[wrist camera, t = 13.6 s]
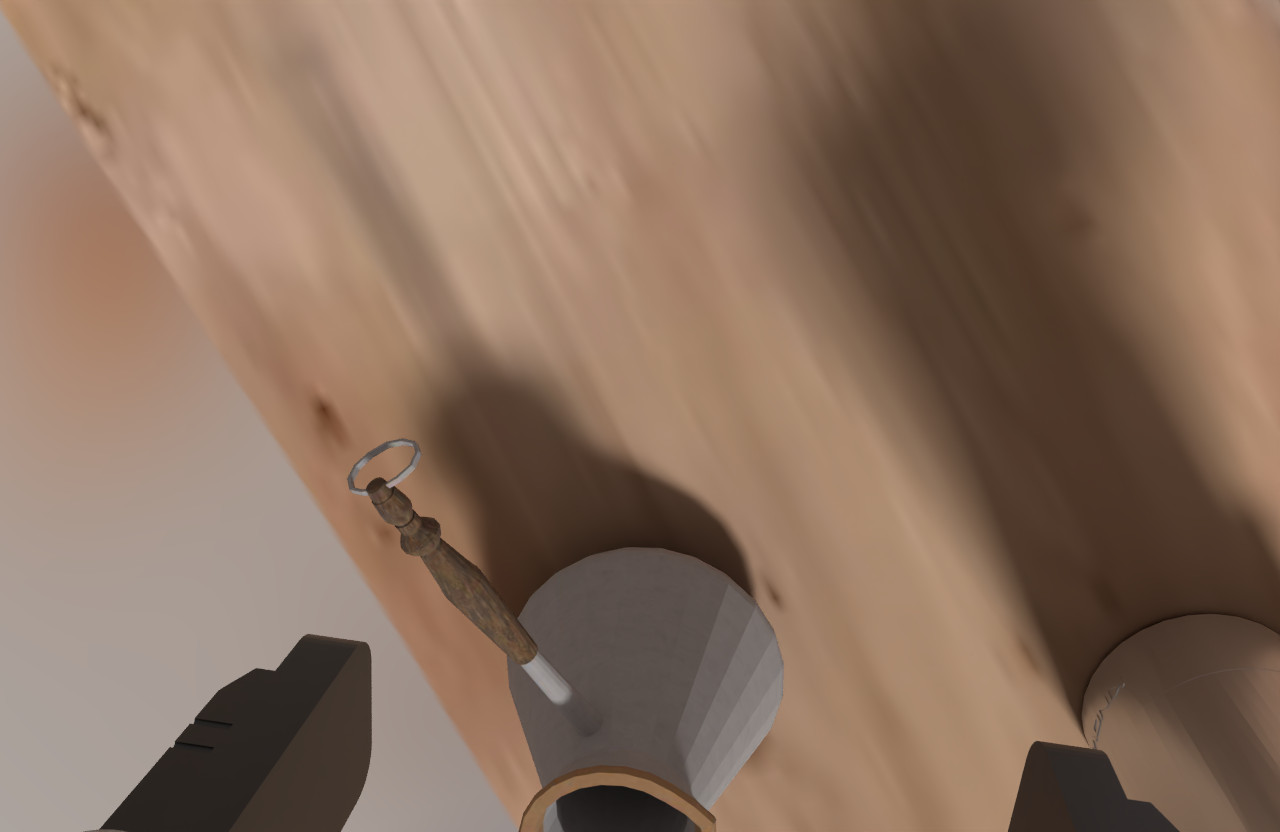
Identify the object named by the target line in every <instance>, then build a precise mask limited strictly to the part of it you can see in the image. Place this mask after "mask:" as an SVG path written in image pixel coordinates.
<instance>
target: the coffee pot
mask: <svg viewBox="0 0 1280 832" xmlns="http://www.w3.org/2000/svg"><path fill="white" fill-rule="evenodd" d="M402 445H407V446H412V447H414V449H415V454H414V456H413V458H412V461H411V463H410V465H409V466H408V467H407V468H405V469H404V470H403V471H402V472H401V473H400V474H398V475H397V476H396V477H394V478H393V479H391V480H389V481H388V482H387V481H385V480H384V479H383V478H380V477H379V478H376V479H374V480H372V481H371V482H370V483H369V484H368V486H367V488H366V489H358V488H355V486H354V482H353V481H354V479H355V477H356V476H357V474H358V472H359V470H360V469H361V468H362V467H363V466H364V465H365V464H366V463H367V462H368V461H369V460H371V459H372V458H373V457H375V456H376V455H378V454H380V453H381V452H383V451H385V450H386V449H388V448H391V447H397V446H402ZM421 455H422V454H421V452H420V449H419V446H418V444H417V443H416V442H415V441H412V440H407V439H398V440H393V441H388V442H385V443H383V444H382V445H380V446H378V447H377V448H375V449H373V450H371V451H370V452H368V453H367V454H366V455H365V456H364V457H363V458H362V459H360V460H359V461H358V462H357V463H356V464H355V465H354V466H353V468H352V470H351V472H350V474H349V476H348V478H347V480H348V485H349V490H350V491H351V492H352V493H354V494H358V495H363V496H367V495H369V496H370V498H371V499H372V503H373V505H374V506H375V508H376V509H377V511H378V512H379V514H380V516H381V517H382V518H383V519H384V520H385V521H386V522H387V523H389V524H393V525H395V527H396V528H397V529H398V530H399V531H400V532H401V541H400V542H401V548H402V549H403V550H404V552H405V553H406V554H409V555H413V556H420V557H421V558H422V560H423V561H424V563H425V564H426V566H427V568H428V569H429V571H430V572H431V574H432V575H433V577H434V578H435V580H436V581H437V583H438V584H439V586H440V588H441V590H442V592H443V593H444V595H445V596H446V598H447V599H448V600H449V601H450V602H451V603H452V604H453V605H455V606H456V607H457V608H458V609H459V610H460V611H461V612H462V613H463V614H464V615H465V616H466V617H467V618H468V619H469V620H471V621H472V622H473V623H474V624H475V625H476V626H477V627H478V628H479V629H480V630H481V631H482V632H483V633H484V634H485V635H486V636H488V637H489V638H490V639H491V640H492V641H493V642H494V643H495V644H496V645H497V646H498V647H499V648H500V649H501V650H502V651H504V652H505V653H506V654H507V663H508V675H509V688H510V691H511V694H512V697H513V700H514V703H515V706H516V709H517V712H518V715H519V718H520V721H521V724H522V728H523V731H524V734H525V737H526V740H527V743H528V746H529V749H530V752H531V755H532V758H533V761H534V764H535V767H536V770H537V773H538V776H539V779H540V782H541V785H542V788H543V789H541V790H540V791H539V792H538V793H537V794H536V795H535V796H534V798H533V799H532V801H531V802H530V804H529V805H528V807H527V808H526V810H525V811H524V813H523V817H522V821H521V825H520V829H519V832H716V819H715V817H714V816H713V815H712V814H711V813H710V812H709V809H710V808H711V807H712V806H713V804H714V803H715V802H716V800H717V799H718V798H719V796H720V795H721V794H722V793H723V791H724V790H725V789H726V787H727V786H728V785H729V783H730V782H731V781H732V779H733V778H734V777H735V776H736V774H737V773H738V772H739V770H740V769H741V768H742V766H743V765H744V764H745V763H746V761H747V760H748V759H749V757H750V756H751V755H752V753H753V752H754V751H755V749H756V748H757V747H758V745H759V744H760V743H761V741H762V740H763V739H764V737H765V736H766V735H767V733H768V732H769V731H770V729H771V728H772V725H773V722H774V719H775V717H776V714H777V711H778V708H779V705H780V702H781V700H782V696H783V672H784V663H783V660H782V656H781V653H780V649H779V646H778V642H777V639H776V635H775V632H774V630H773V628H772V626H771V625H770V623H769V622H768V620H767V618H766V617H765V615H764V614H763V612H762V611H761V609H760V607H759V606H758V604H757V603H756V601H755V600H754V599H753V598H752V597H751V596H750V595H748V594H747V593H746V592H745V591H744V590H743V589H742V588H741V587H740V586H739V585H737V584H736V583H735V582H734V581H733V580H732V579H731V578H730V577H729V576H727V575H726V574H725V573H723V572H722V571H720V570H718V569H716V568H714V567H712V566H710V565H709V564H707V563H705V562H703V561H701V560H699V559H697V558H696V557H693V556H689V555H686V554H682V553H678V552H674V551H670V550H667V549H663V548H642V547H625V548H620V549H616V550H611V551H606V552H602V553H597V554H593V555H590V556H588V557H586V558H584V559H582V560H580V561H578V562H576V563H574V564H572V565H570V566H568V567H566V568H564V569H562V570H560V571H558V572H556V573H555V574H554V575H553V576H552V577H551V578H550V579H549V580H548V581H546V582H545V583H544V584H543V585H542V586H541V587H540V588H539V589H538V590H537V591H536V592H534V593H533V594H532V595H531V597H530V598H529V600H528V601H527V603H526V605H525V607H524V608H523V610H522V612H521V613H520V615H519V617H518V618H516V617H515V615H514V614H513V613H512V611H511V610H510V609H509V607H508V606H507V605H506V603H505V602H504V601H503V599H502V598H501V597H500V595H499V594H498V593H497V591H496V590H495V589H494V587H493V586H492V585H491V583H490V582H489V581H488V580H487V578H486V577H485V576H484V574H483V573H482V572H481V570H480V569H479V568H478V567H477V566H475V565H474V564H473V563H471V562H470V561H468V560H467V559H466V558H465V557H463V556H462V555H461V554H460V553H458V552H457V551H456V550H455V549H454V548H452V547H451V546H450V545H449V544H447V543H446V542H445V541H444V540H442V539H441V538H440V536H441V529H440V524H439V523H438V522H437V521H436V520H435V519H434V518H430V517H419V515H418V514H417V513H416V512H415V511H414V510H413V509H412V503H411V501H410V500H409V498H408V497H407V496H406V495H405V494H403V493H402V492H401V491H400V490H398V489H397V488H396V487H395V485H396V484H398V483H400V482H401V481H402V480H404V479H405V478H406V477H407V476H408V475H409V474H410V473H411V472H412V471H414V470H415V468H416V466H417V464H418V462H419V459H420V457H421Z"/></svg>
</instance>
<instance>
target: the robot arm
mask: <svg viewBox="0 0 1280 832" xmlns="http://www.w3.org/2000/svg"><path fill="white" fill-rule="evenodd" d="M371 714H372V713H371V652H370V648H369V645H368V644H367V643H366V642H360V641H353V640H346V639H339V638H333V637H326V636H319V635H311V634H307V635H305V636H303V637H302V638H301V640H299V642H298V643H297V644H296V646H295V647H294V648H293V649H292V651H291V652H290V653H289V654H288V656H287V657H286V658H285V659H284V661H283V662H282V663H281V665H280V666H279V667H278V668H277V669H276V671H271V670H265V669H257V668H256V669H254V670H252V671H251V672H249V673H247V674H246V675H244V676H242V677H241V678H239V679H237V680H235V681H234V682H232V683H230V684H229V685H227V686H225V687H223V688H222V689H220V690H219V691H218V692H217V693H216V694H215V695H214V697H213V698H212V699H211V700H210V701H209V702H208V704H207V705H206V706H205V707H204V708H203V709H202V710H201V712H200V713H199V714H198V715H197V716H196V718H195V722H194V724H189V726H188V727H187V728H186V729H185V730H184V731H183V733H182V734H181V735H180V736H179V737H178V738H177V740H176V741H175V745H174V747H173V748H171V747H170V748H169V749H168V750H167V751H166V752H165V754H164V755H163V756H162V757H161V758H160V759H159V761H158V762H157V763H156V764H155V765H154V766H153V768H152V769H151V770H150V771H149V772H148V774H147V775H146V776H145V777H144V778H143V779H142V780H141V781H140V783H139V784H138V785H137V786H136V787H135V789H134V790H133V791H132V792H131V793H130V794H129V795H128V797H127V798H126V799H125V800H124V801H123V802H122V804H121V805H120V806H119V807H118V808H117V809H116V811H115V812H114V813H113V814H112V815H111V816H110V818H109V819H108V820H107V821H106V822H105V823H104V825H103V826H102V827H101V828H100V829H99V830H92V831H85V832H341V830H342V828H343V826H344V825H345V823H346V821H347V819H348V817H349V815H350V814H351V812H352V810H353V808H354V806H355V805H356V803H357V801H358V799H359V797H360V795H361V792H362V789H363V787H364V784H365V781H366V777H367V773H368V769H369V764H370V757H371V746H372V745H371V744H372V738H371V737H372V733H371V732H372V729H371V727H372V726H371V725H372V724H371V722H372V720H371V718H372V717H371V716H372V715H371ZM1082 722H1083V729H1084V734H1085V737H1086V739H1087V742H1088V744H1089V746H1090V749H1089V748H1082V747H1075V746H1068V745H1061V744H1054V743H1047V742H1040V741H1036V742H1034V743H1033V744H1032V746H1031V748H1030V750H1029V752H1028V755H1027V759H1026V762H1025V766H1024V770H1023V774H1022V778H1021V782H1020V786H1019V790H1018V794H1017V798H1016V802H1015V806H1014V810H1013V814H1012V818H1011V822H1010V825H1009V829H1008V832H1280V635H1279V634H1278V633H1276V632H1274V631H1272V630H1271V629H1269V628H1267V627H1265V626H1264V625H1262V624H1259V623H1256V622H1253V621H1250V620H1247V619H1244V618H1241V617H1236V616H1228V615H1220V614H1201V615H1187V616H1183V617H1179V618H1174V619H1170V620H1165V621H1162V622H1160V623H1158V624H1155V625H1153V626H1150V627H1148V628H1146V629H1143V630H1141V631H1139V632H1138V633H1136V634H1135V635H1133V636H1131V637H1130V638H1128V639H1127V640H1125V641H1124V642H1122V643H1121V644H1120V645H1118V646H1117V647H1116V648H1115V649H1114V650H1113V651H1112V652H1111V653H1110V654H1109V655H1108V656H1107V657H1106V658H1105V659H1104V660H1103V661H1102V663H1101V664H1100V666H1099V667H1098V669H1097V670H1096V671H1095V673H1094V674H1093V676H1092V677H1091V680H1090V682H1089V685H1088V687H1087V690H1086V692H1085V695H1084V701H1083V708H1082Z"/></svg>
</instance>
